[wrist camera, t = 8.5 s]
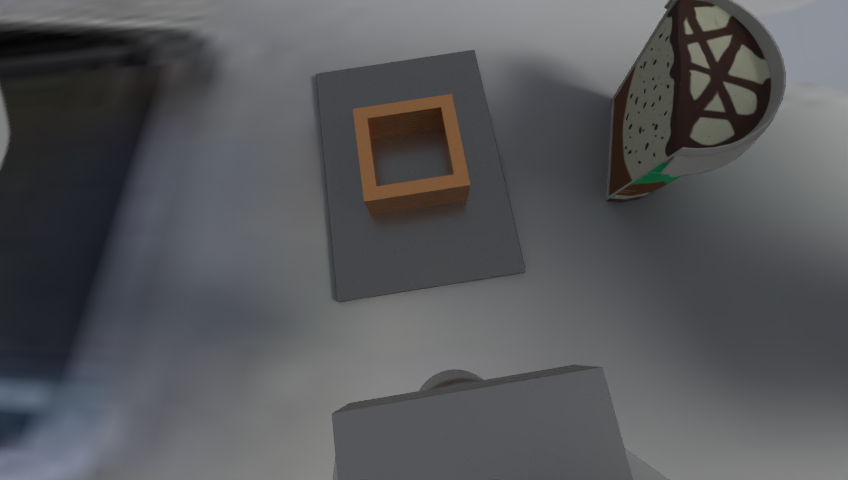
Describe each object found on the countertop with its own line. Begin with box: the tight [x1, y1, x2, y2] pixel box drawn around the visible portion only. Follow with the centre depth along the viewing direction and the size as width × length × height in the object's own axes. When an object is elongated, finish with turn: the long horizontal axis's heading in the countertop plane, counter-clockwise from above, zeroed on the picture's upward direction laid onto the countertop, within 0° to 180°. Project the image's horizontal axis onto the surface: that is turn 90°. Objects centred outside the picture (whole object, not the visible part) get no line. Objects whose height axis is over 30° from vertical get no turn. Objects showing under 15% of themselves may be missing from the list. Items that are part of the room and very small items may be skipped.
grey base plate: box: [316, 50, 525, 302], centre depth 30 cm, size 14×20×4 cm
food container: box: [606, 0, 786, 202], centre depth 27 cm, size 12×6×10 cm, turn 170°
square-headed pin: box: [332, 365, 633, 480], centre depth 11 cm, size 4×4×11 cm
